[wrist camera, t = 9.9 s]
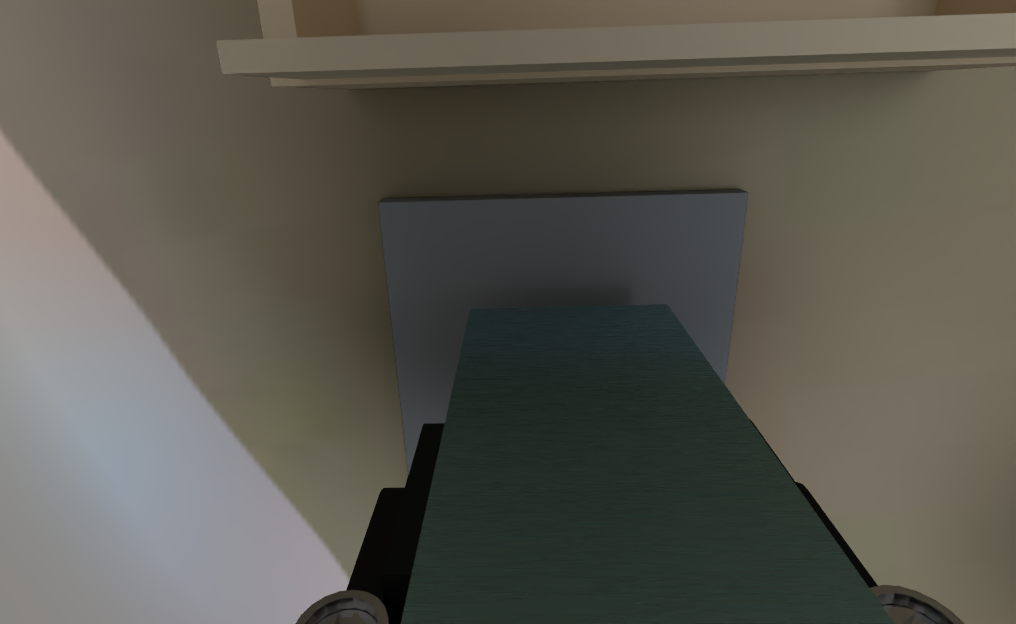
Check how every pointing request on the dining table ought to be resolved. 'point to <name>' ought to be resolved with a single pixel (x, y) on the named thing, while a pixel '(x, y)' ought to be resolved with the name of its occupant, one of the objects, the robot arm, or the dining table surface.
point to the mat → (550, 271)
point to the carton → (611, 40)
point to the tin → (614, 487)
